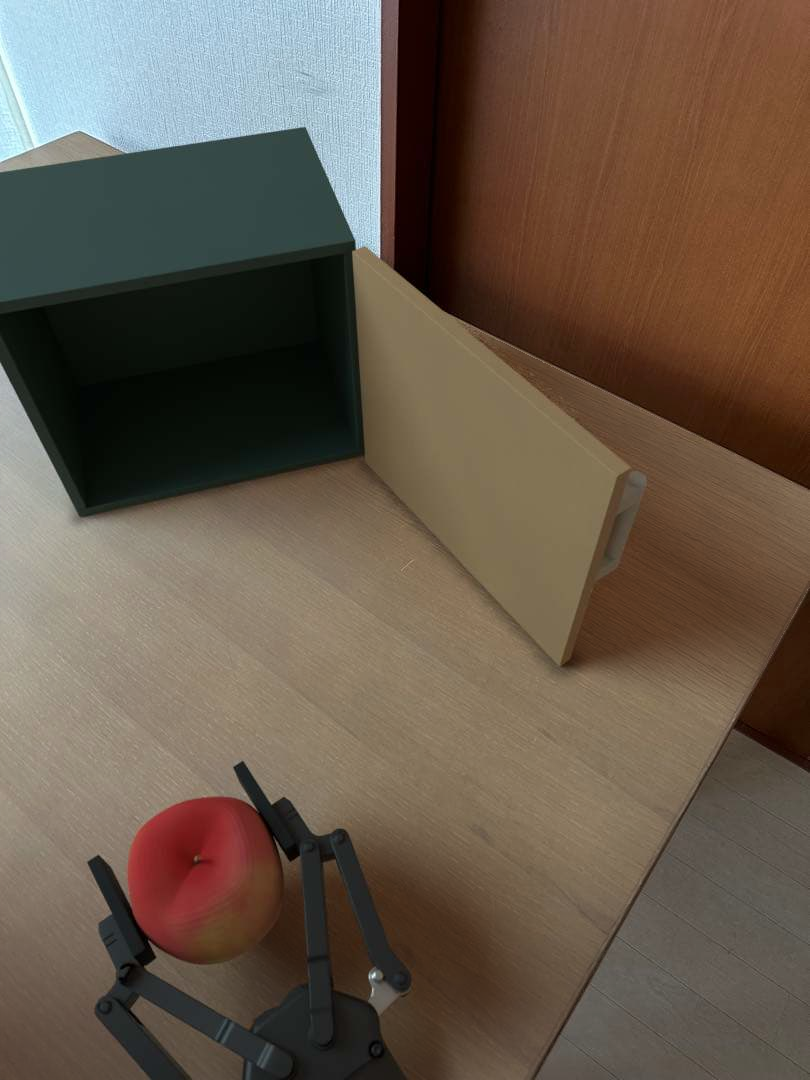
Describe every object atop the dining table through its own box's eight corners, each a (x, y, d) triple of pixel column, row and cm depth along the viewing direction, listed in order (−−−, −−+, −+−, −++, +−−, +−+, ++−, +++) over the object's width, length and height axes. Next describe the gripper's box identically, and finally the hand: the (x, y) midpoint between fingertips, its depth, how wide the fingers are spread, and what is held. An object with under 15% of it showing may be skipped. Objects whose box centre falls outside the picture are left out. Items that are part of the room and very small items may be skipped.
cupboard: (368, 454, 82) (355, 240, 63) (79, 517, 78) (-29, 306, 59) (327, 340, 93) (305, 126, 74) (70, 390, 88) (-25, 175, 69)
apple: (130, 964, 53) (82, 930, 45) (175, 818, 59) (140, 765, 51) (276, 989, 53) (253, 958, 45) (308, 838, 58) (293, 787, 50)
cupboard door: (422, 431, 84) (425, 219, 65) (620, 623, 71) (698, 425, 52) (365, 462, 82) (351, 251, 63) (559, 667, 68) (617, 476, 49)
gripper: (195, 1333, 42) (27, 939, 52) (526, 1032, 49) (321, 743, 60) (159, 1363, 36) (-22, 911, 46) (543, 1014, 43) (312, 697, 54)
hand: (172, 816), depth 53 cm, fingers closed on apple, 9 cm apart
